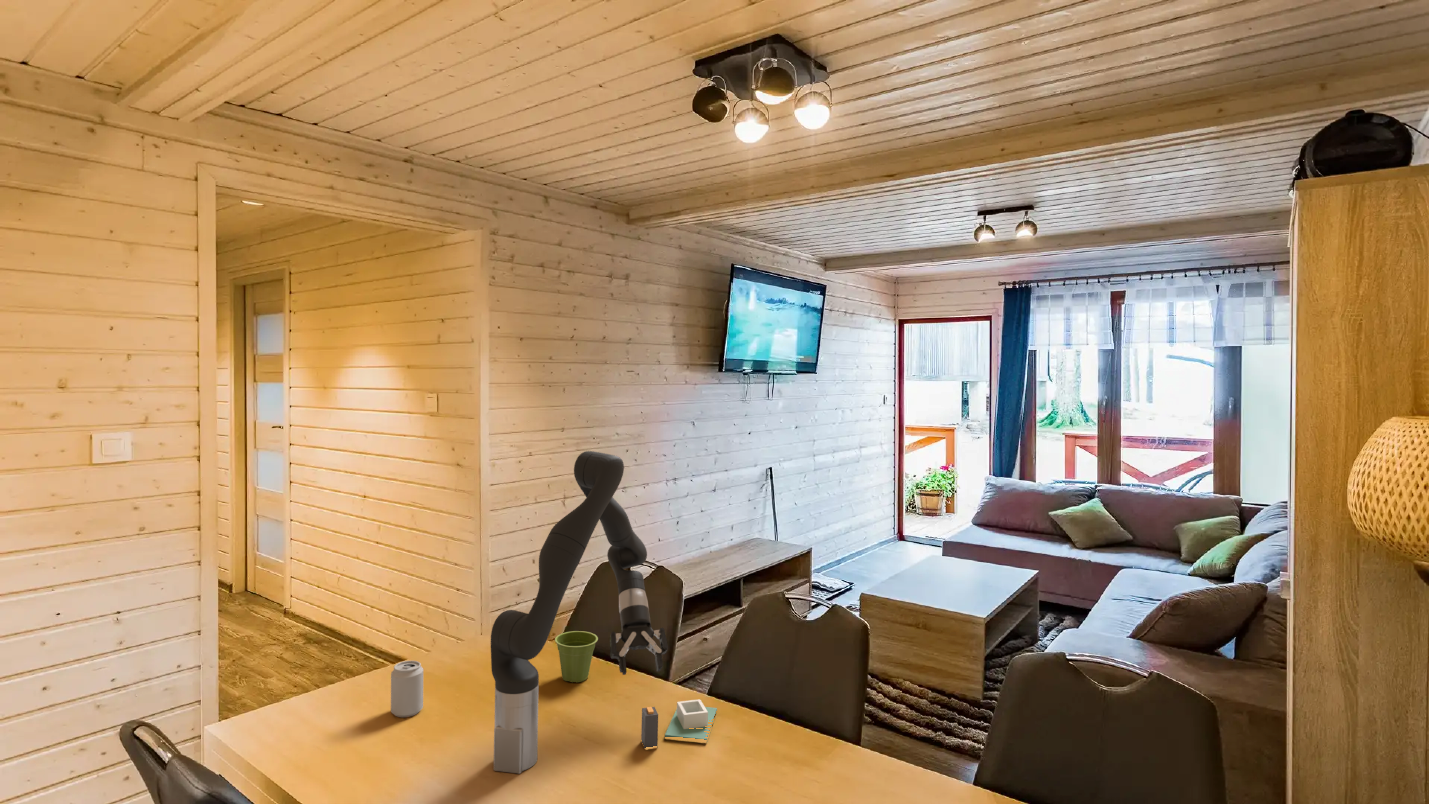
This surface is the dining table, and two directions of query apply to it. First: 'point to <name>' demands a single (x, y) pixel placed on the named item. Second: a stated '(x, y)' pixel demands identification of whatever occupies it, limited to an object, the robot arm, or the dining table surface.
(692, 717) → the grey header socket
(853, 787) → the dining table surface
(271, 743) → the dining table surface
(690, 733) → the green board
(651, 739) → the dark grey rectangular block
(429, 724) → the dining table surface
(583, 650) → the plant pot
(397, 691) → the can
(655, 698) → the dining table surface
